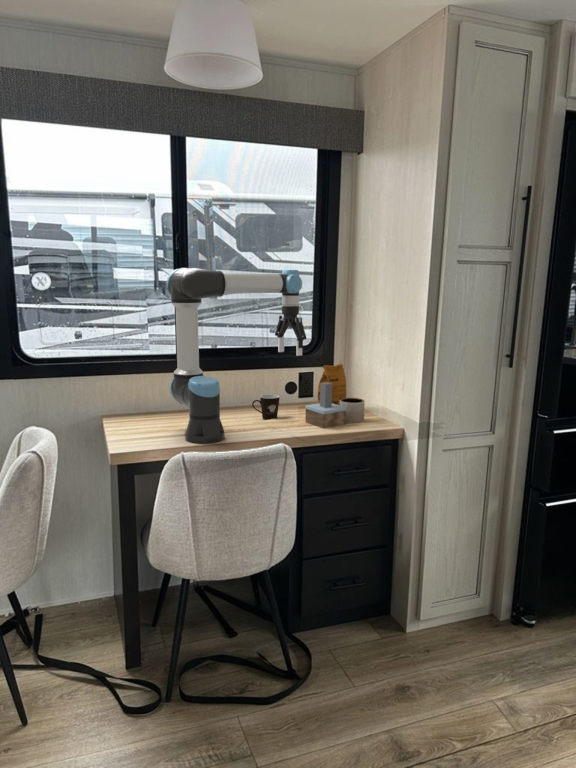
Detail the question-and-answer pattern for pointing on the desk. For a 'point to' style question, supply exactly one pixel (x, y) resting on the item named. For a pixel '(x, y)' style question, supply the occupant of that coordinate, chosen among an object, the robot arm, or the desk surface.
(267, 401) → the coffee mug
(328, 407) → the lid
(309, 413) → the crate
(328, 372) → the coffee package
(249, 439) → the desk surface
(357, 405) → the planter
